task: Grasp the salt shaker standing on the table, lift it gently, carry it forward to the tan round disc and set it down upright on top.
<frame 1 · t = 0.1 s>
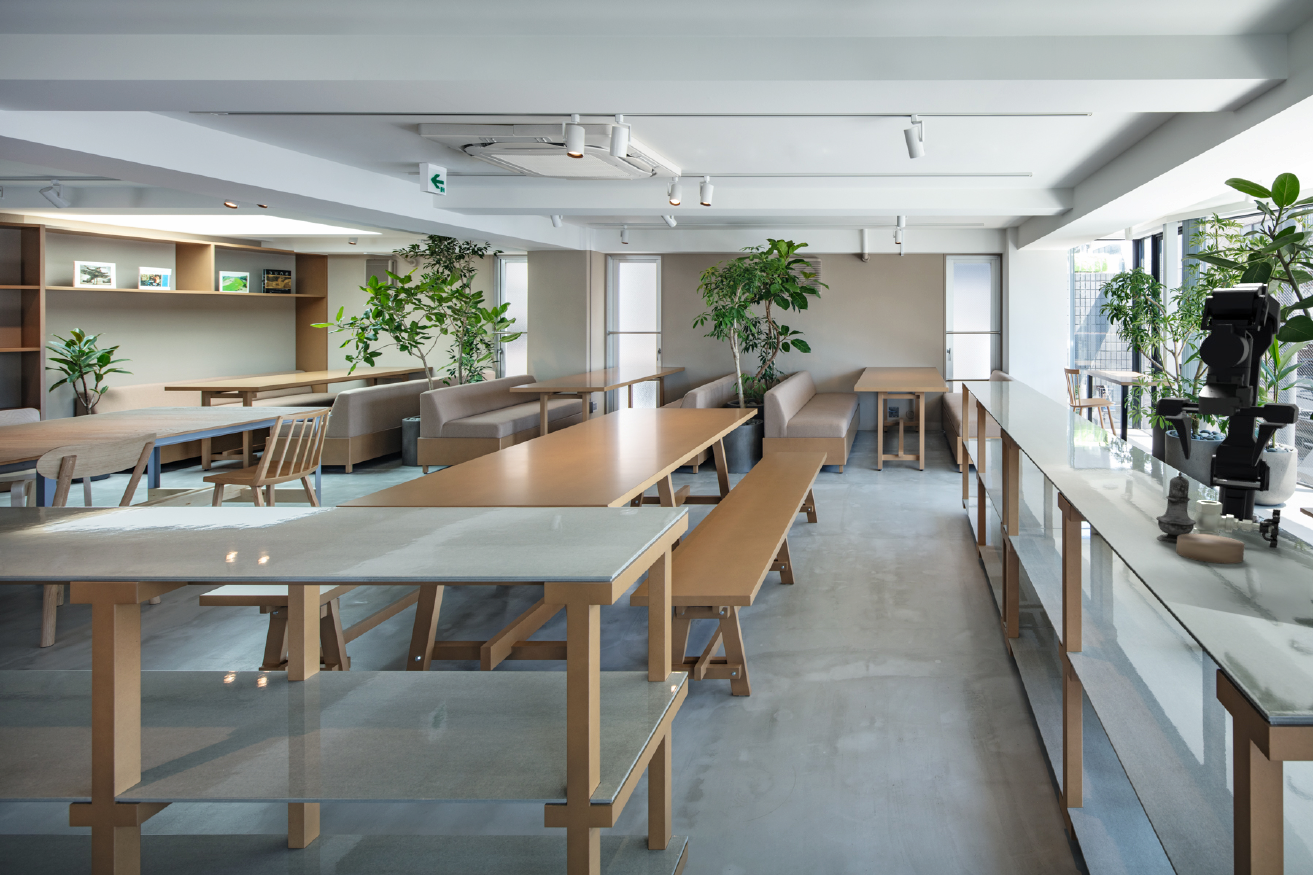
hand: (1220, 462, 137), 14 cm above the table, fingers open, 9 cm apart
valve: (1232, 544, 143), on the table
tan round disc: (1208, 555, 134), on the table
salt shaker: (1174, 541, 144), on the table
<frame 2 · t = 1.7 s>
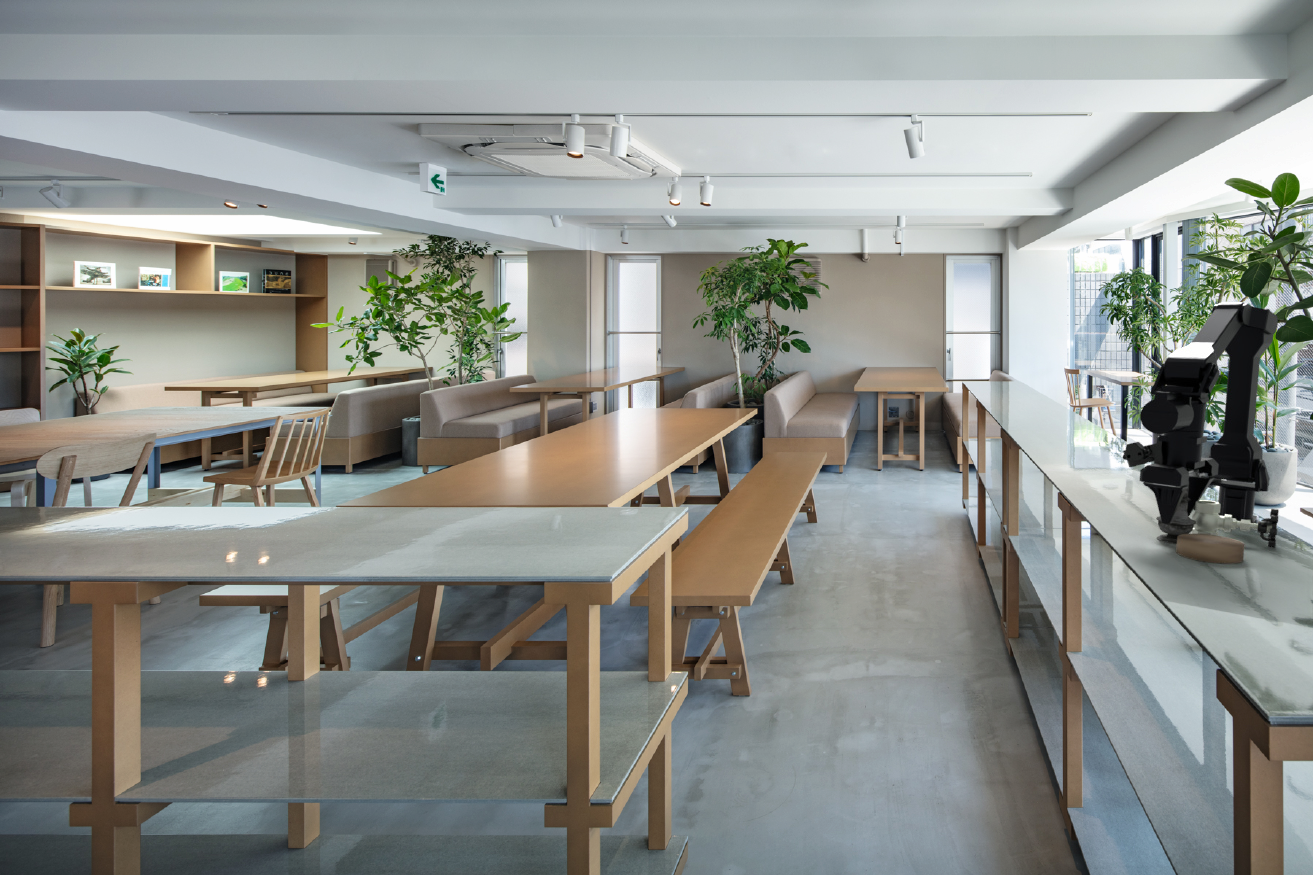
hand: (1175, 519, 144), 4 cm above the table, fingers open, 9 cm apart
valve: (1231, 543, 143), on the table, touching gripper
everything else where it was.
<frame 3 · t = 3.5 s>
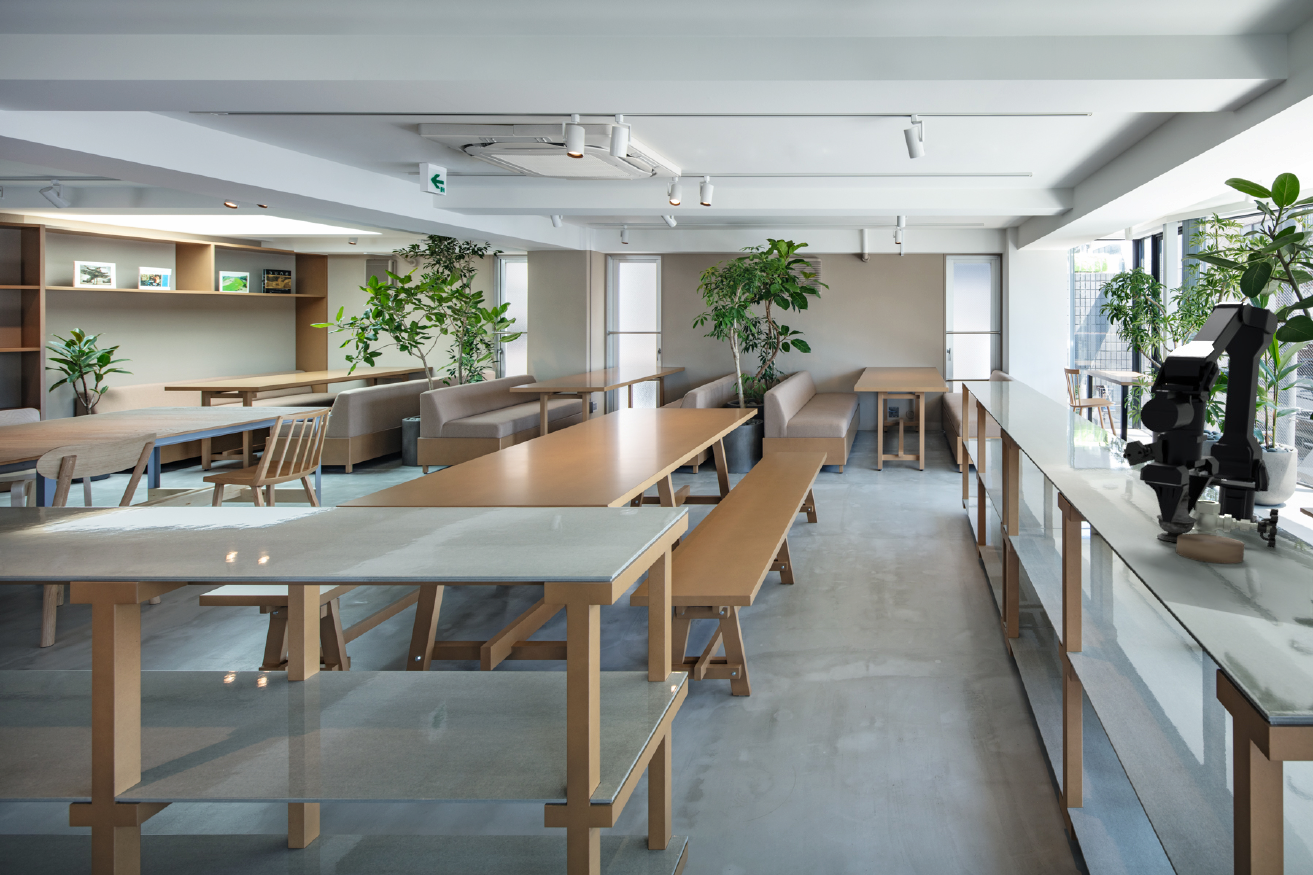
hand: (1176, 518, 144), 4 cm above the table, fingers closed on salt shaker, 8 cm apart
valve: (1230, 543, 143), on the table
salt shaker: (1174, 539, 144), on the table, touching gripper
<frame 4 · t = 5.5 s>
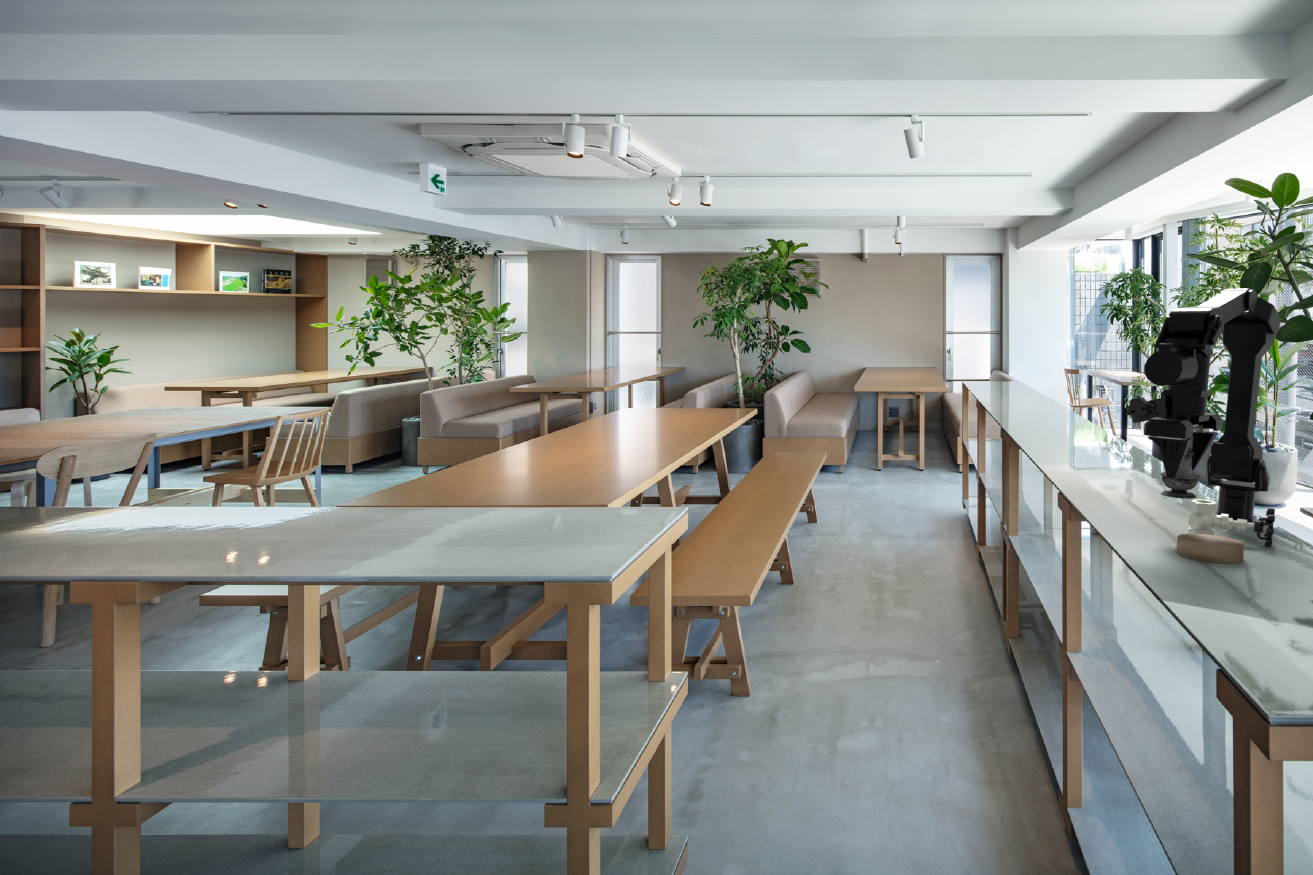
hand: (1180, 474, 143), 11 cm above the table, fingers closed on salt shaker, 8 cm apart
salt shaker: (1178, 496, 143), point 8 cm above the table, touching gripper
everything else where it was.
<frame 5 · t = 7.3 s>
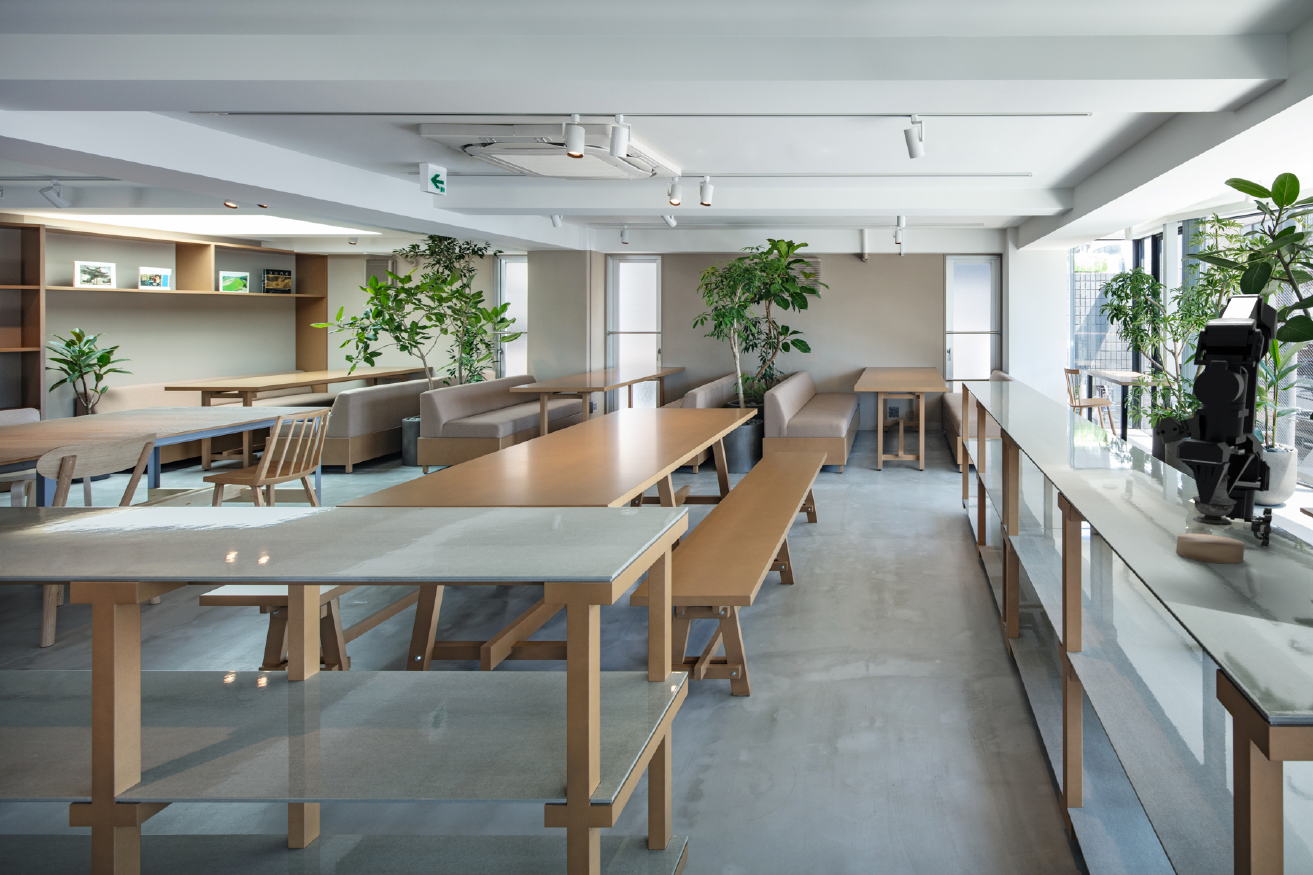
hand: (1214, 499, 133), 9 cm above the table, fingers closed on salt shaker, 8 cm apart
salt shaker: (1212, 522, 134), point 5 cm above the table, touching gripper
everything else where it was.
when the fingers open (7 cm above the table, at t = 9.0 s): salt shaker drops 1 cm, resting on tan round disc.
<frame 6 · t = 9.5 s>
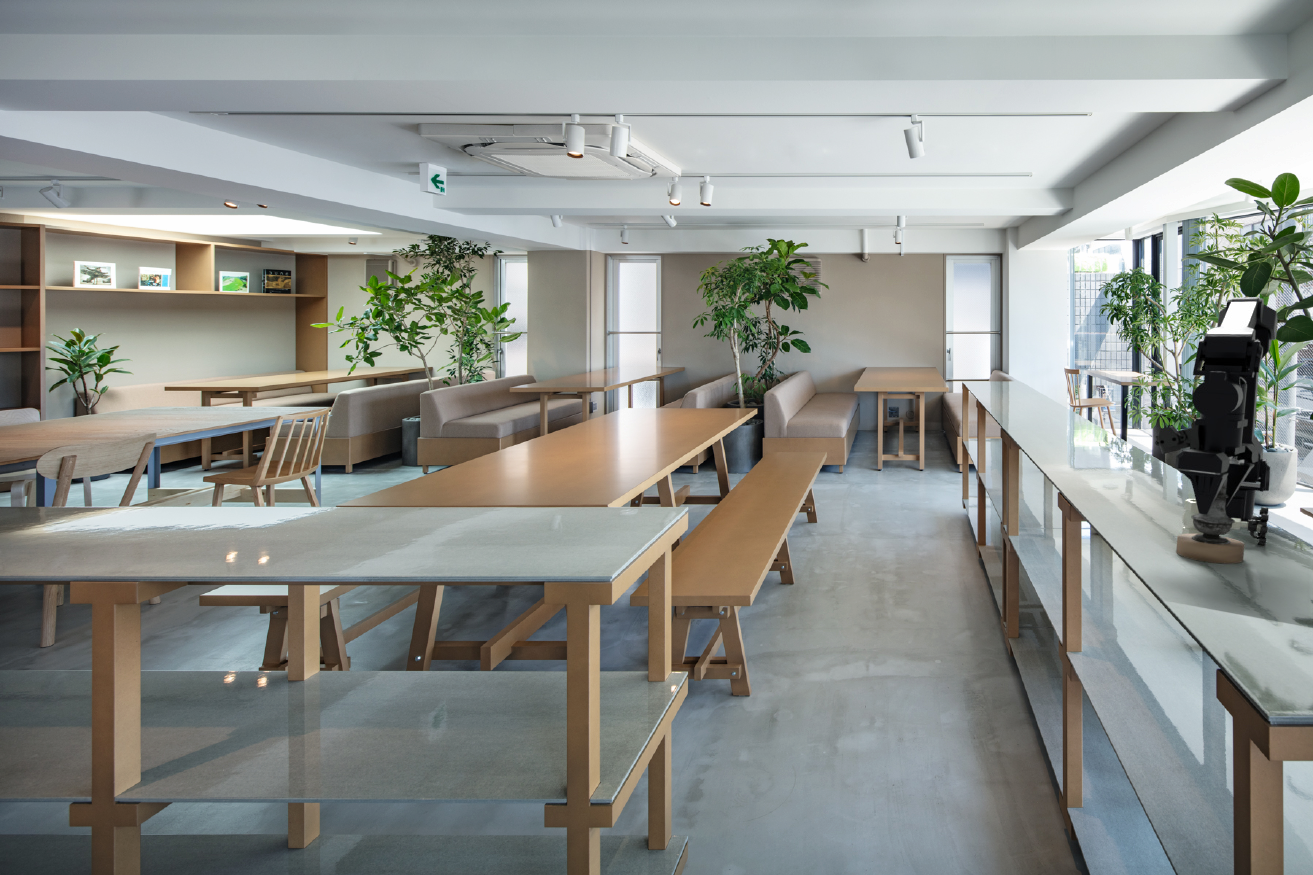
hand: (1213, 509, 133), 7 cm above the table, fingers open, 9 cm apart
salt shaker: (1210, 541, 134), point 2 cm above the table, touching tan round disc
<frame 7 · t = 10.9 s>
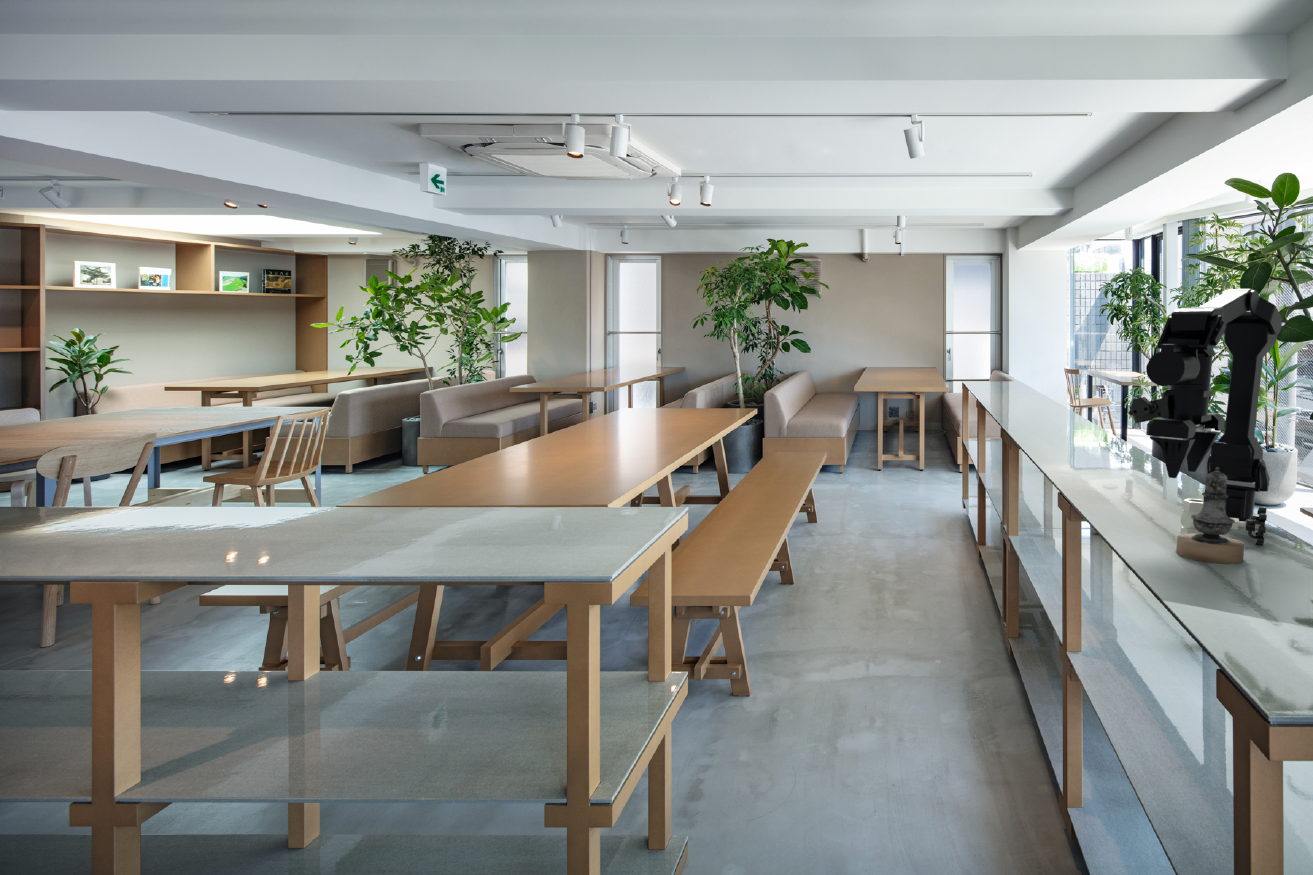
hand: (1182, 474, 143), 11 cm above the table, fingers open, 9 cm apart
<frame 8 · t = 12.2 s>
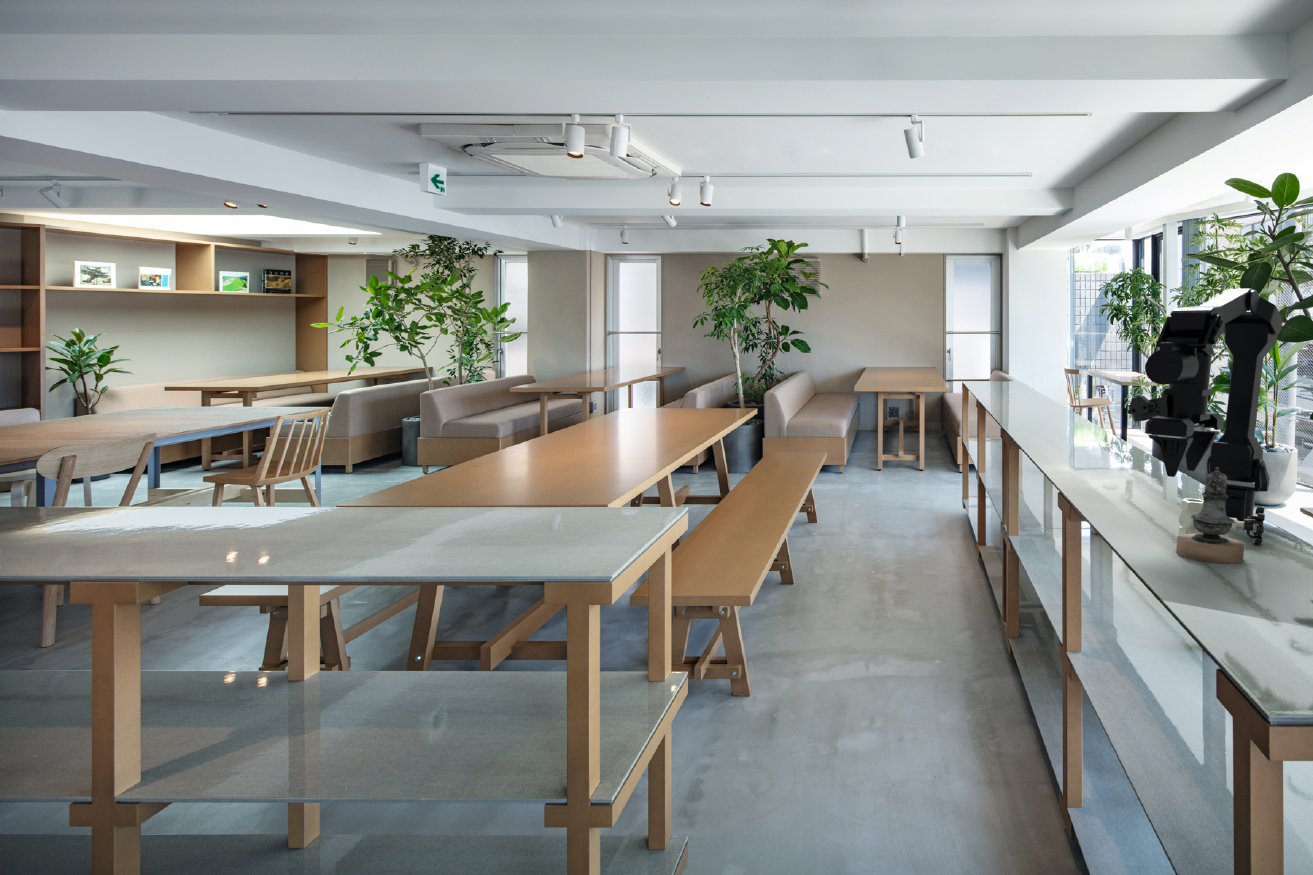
hand: (1181, 473, 144), 12 cm above the table, fingers open, 9 cm apart
at the end: salt shaker 0.2 cm off-centre on the tan round disc, point 2.3 cm above the tan round disc's base; salt shaker tilted 0°; the gripper is holding nothing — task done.
